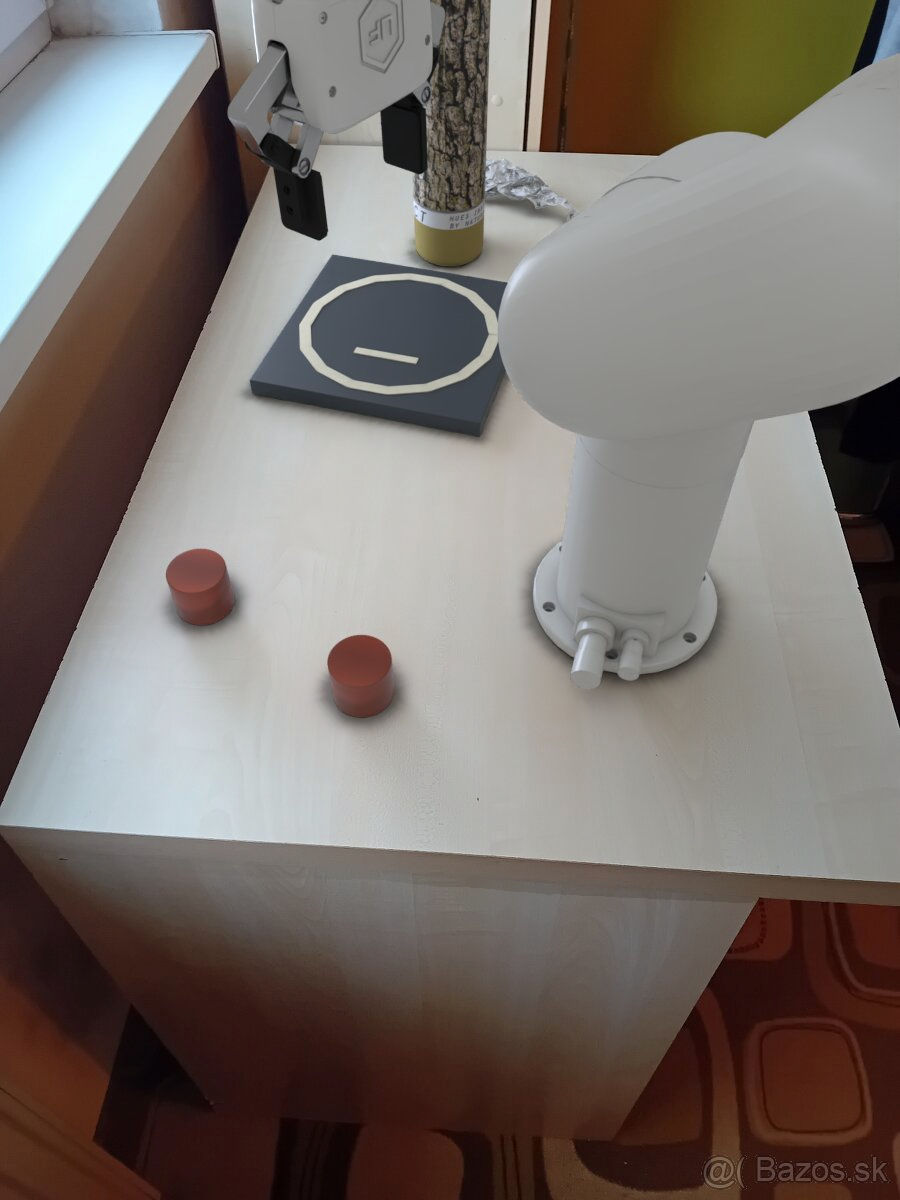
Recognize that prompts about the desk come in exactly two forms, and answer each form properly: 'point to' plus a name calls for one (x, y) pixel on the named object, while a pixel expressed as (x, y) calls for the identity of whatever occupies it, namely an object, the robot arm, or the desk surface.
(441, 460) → the desk surface
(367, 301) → the face board
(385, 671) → the eye disc
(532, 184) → the crumpled aluminium foil
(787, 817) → the desk surface
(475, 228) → the paper tube
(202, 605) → the eye disc
